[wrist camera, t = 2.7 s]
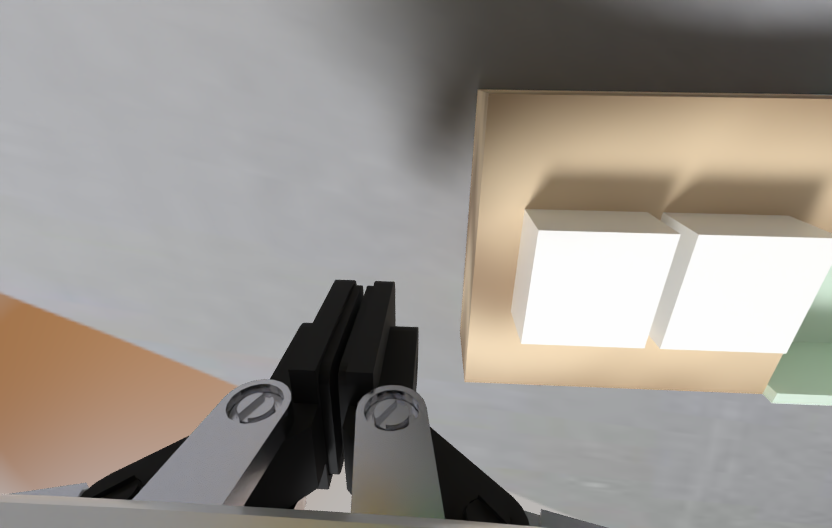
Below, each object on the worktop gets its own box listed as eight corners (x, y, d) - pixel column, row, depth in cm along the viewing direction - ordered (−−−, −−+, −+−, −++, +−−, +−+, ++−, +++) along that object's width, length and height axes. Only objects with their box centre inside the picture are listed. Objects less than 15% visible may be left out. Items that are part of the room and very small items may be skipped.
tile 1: (524, 208, 13) (538, 230, 12) (647, 211, 13) (680, 234, 11) (510, 311, 15) (520, 343, 13) (619, 314, 15) (644, 348, 13)
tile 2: (662, 212, 13) (698, 234, 11) (788, 215, 13) (845, 238, 11) (632, 315, 15) (660, 348, 13) (743, 319, 15) (786, 353, 13)
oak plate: (477, 89, 15) (488, 93, 12) (808, 94, 15) (911, 100, 11) (460, 332, 20) (464, 381, 17) (709, 341, 19) (762, 393, 16)
